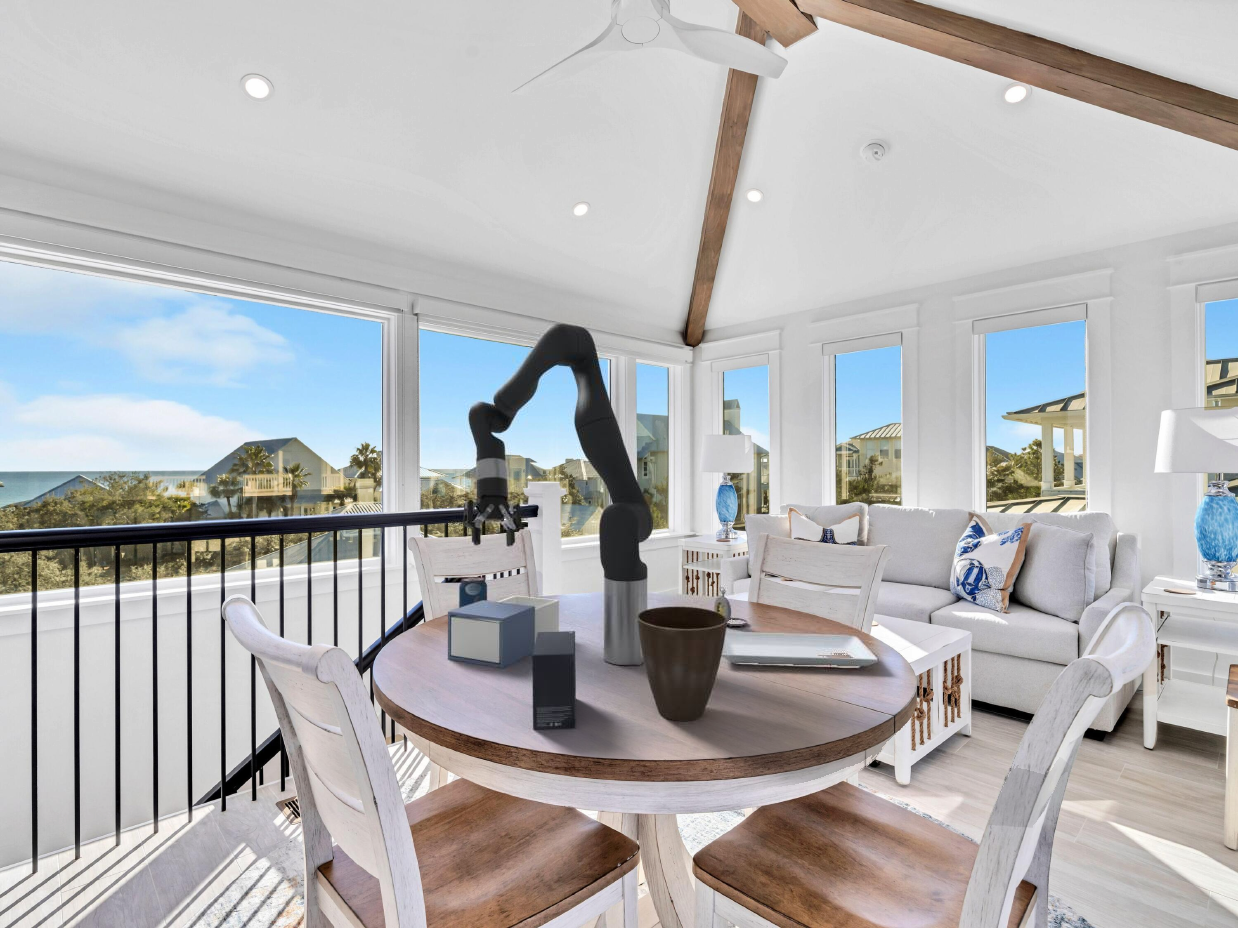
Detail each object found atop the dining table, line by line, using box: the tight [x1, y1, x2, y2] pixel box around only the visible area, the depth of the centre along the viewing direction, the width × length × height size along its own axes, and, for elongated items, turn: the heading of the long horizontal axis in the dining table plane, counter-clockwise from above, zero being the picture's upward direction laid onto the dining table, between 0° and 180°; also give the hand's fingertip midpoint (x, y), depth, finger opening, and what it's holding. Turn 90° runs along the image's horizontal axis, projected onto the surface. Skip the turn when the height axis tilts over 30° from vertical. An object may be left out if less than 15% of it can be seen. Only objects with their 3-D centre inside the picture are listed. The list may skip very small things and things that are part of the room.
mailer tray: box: [451, 595, 560, 663], centre depth 139 cm, size 12×24×8 cm, turn 155°
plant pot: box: [637, 605, 728, 722], centre depth 103 cm, size 15×15×16 cm
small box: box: [531, 630, 577, 731], centre depth 103 cm, size 13×7×12 cm, turn 4°
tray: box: [721, 631, 879, 667], centre depth 133 cm, size 17×32×4 cm, turn 84°
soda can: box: [458, 576, 488, 608], centre depth 158 cm, size 7×7×12 cm
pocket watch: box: [713, 586, 748, 627], centre depth 160 cm, size 8×8×10 cm
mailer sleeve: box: [447, 600, 535, 669], centre depth 134 cm, size 14×12×10 cm
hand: (494, 545), depth 148 cm, fingers open, 8 cm apart
